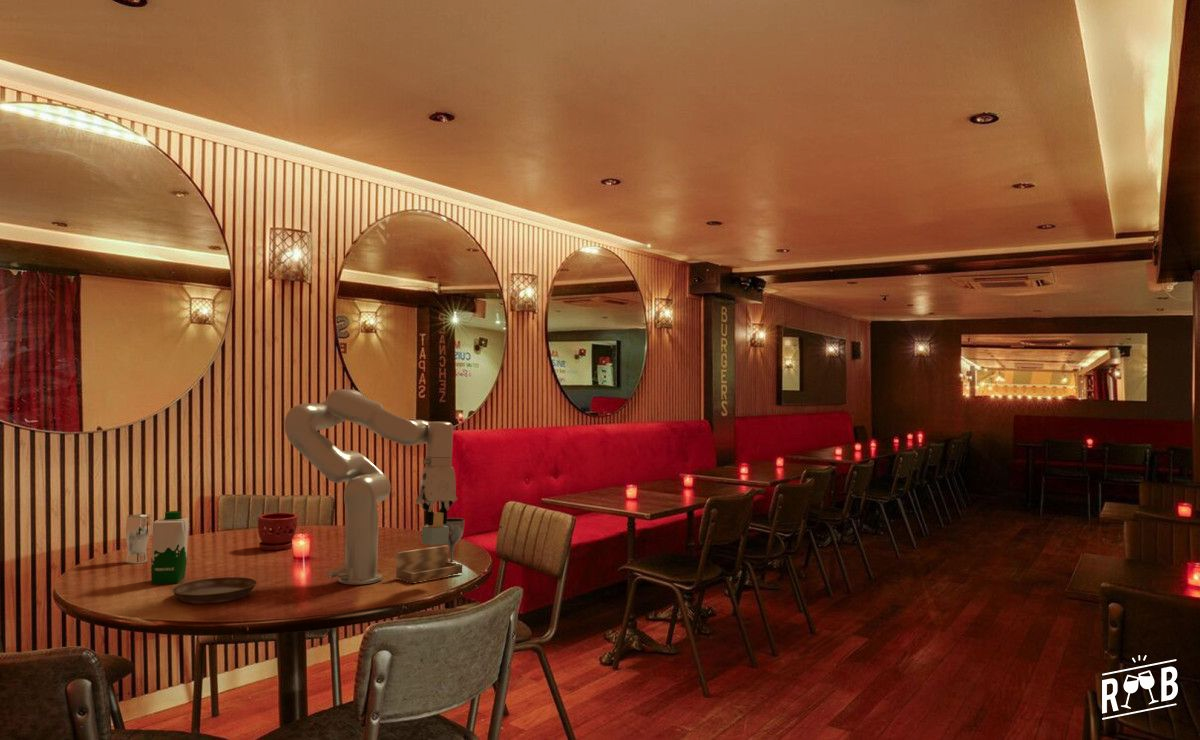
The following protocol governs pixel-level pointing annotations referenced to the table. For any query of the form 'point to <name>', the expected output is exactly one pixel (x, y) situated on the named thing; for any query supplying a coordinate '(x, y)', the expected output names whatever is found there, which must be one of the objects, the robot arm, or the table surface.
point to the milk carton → (169, 549)
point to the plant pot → (276, 530)
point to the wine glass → (454, 532)
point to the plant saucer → (214, 590)
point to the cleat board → (425, 564)
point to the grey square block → (435, 531)
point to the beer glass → (137, 538)
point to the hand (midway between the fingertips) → (435, 523)
